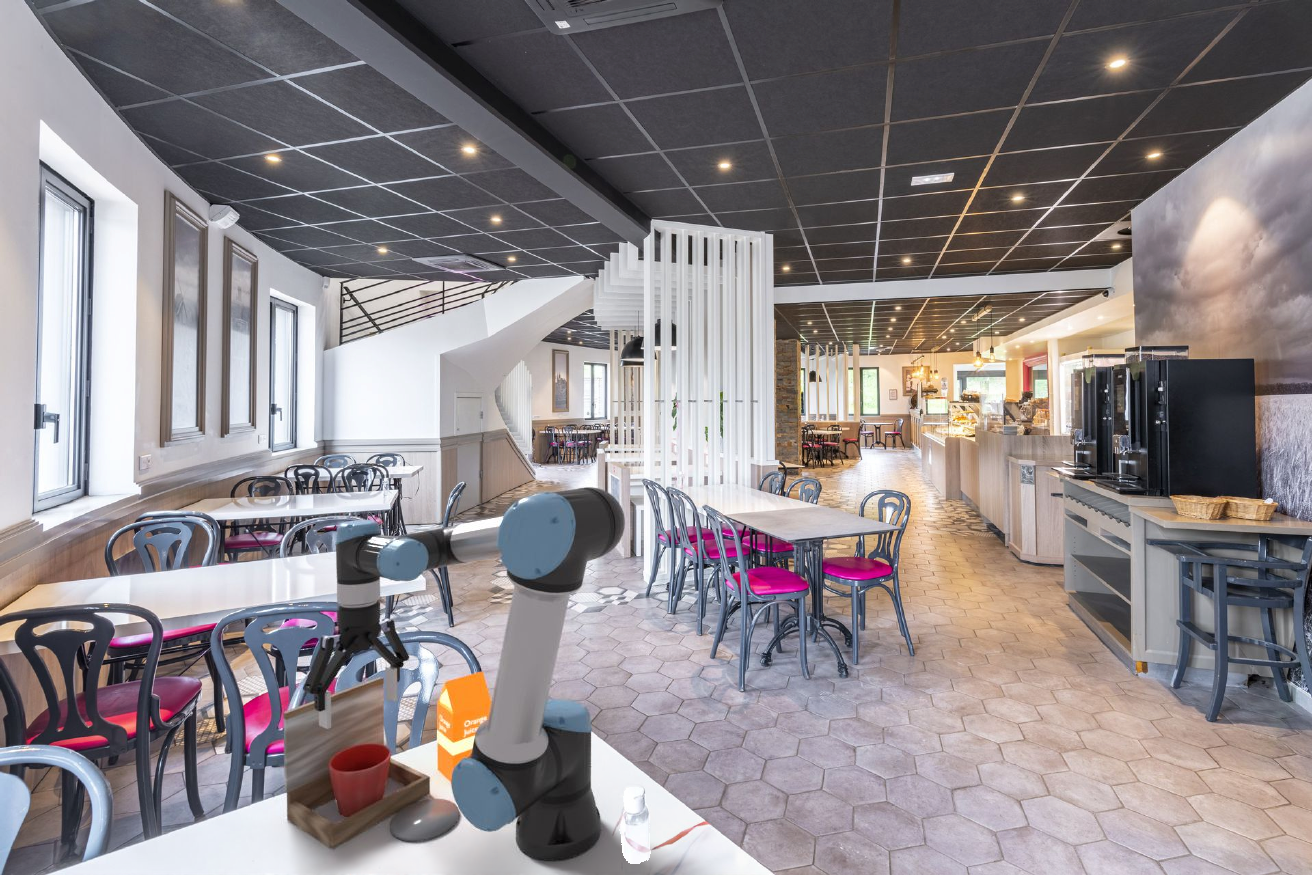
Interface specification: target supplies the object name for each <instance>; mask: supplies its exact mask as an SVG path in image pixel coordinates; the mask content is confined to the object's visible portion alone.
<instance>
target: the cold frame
mask: <svg viewBox="0 0 1312 875" xmlns="http://www.w3.org/2000/svg"><path fill="white" fill-rule="evenodd" d="M384 679H385V678H384V677H382V676H379V677H376V678H374V679H371V680H367V681H366V682H362V683H359V684H357V685H354V686H351V687H349V688H345V689H343V690H340V691H338V692H335V693H333V694H332V693H331V728H329V729H326V728H324V727H322V726H320V725H319V711H317V710H315V708H314V705H315V704H314V700H313V701H311V702H307V703H305V704H302V705H299V706H296V707H294V708H290V709H288V710H286V711H283V712H282V714H283V715H282V716H283V760H284V761H283V764H284V765H283V770H284V771H283V772H284V774H283V776H284V778H283V779H284V792H285V793H286V820H287V821H288V822H289V823H291V824H293V825H294V826H295V827H298V828H299V829H300V830H302V831H304V833H306V834H308V835H310V836H311V837H313V838H315V840H317V841H319V842H321V843H322V844H323V845H325V846H327V847H328V848H330V849H331V850H334V849H336V848H337V847H339V846H341V845H343V844H344V843H347V842H349V841H350V840H352V839H353V838H355V837H356V836H359V835H360V834H362V833H365V831H367V830H369V829H372V827H373V828H374V826H377V825H378V824H380V823H381V822H383V821H385V820H387V819H389V818H391V817H392V816H394V815H395V814H396V813H397V812H398V811H400V810H401V809H402V808H404V807H406V806H408V805H410V804H412V803H415V802H418V801H421V800H423V798H425V797H427V796H429V795H430V794H431V784H430V782H431V777H430V776H429V775H427V774H425V773H423V772H421V771H418V770H417V769H415V768H412V767H410V766H408V765H406V764H404V763H402V762H400V761H397V760H396V759H393V758H391V759H390V765H389V770H388V776H387V779H390V780H393V781H394V782H396V783H397V784H399V785H402V786H403V787H402V788H400V789H398V790H396V791H395V792H393V793H390V794H389V795H387V796H384V798H383V799H381V800H379V801H377V802H376V803H374V804H372V805H370V806H368V807H366V808H364V809H363V810H361V811H359V812H357V813H355V814H353V815H351V816H350V817H348V818H346V817H345V818H343V819H342V820H340V821H339V822H336V823H335V824H334V823H333V822H331V821H330V820H328V819H326V818H325V817H323V816H321V815H320V814H318V813H316V812H315V811H314V810H316V809H319V808H320V807H322V806H324V805H326V804H328V803H330V802H332V801H334V800H336V799H335V795H334V791H333V786H332V782H331V777H330V772H329V767H328V764H329V761H330V759H331V758H332V757H333V756H334V755H336V754H337V753H339V752H340V751H342V750H344V749H347V748H350V747H352V746H356V745H361V744H372V743H373V744H381V745H384V746H385V722H384V721H385V716H384V712H385V708H384V706H385V704H384V702H385V701H384V700H385V699H384V696H385V695H384V683H385V682H384V681H385V680H384Z"/></svg>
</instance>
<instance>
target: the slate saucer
mask: <svg viewBox="0 0 1312 875" xmlns="http://www.w3.org/2000/svg"><path fill="white" fill-rule="evenodd" d="M392 816H393V817H392V818H391V820H390V823H389V826H390V829H389V830H390V833H391V835H392V836H393V837H394V838H396V839H398V840H399V841H403V842H408V843H409V842H412V843H413V842H414V843H415V842H416V843H417V842H424V841H429V840H432V839H436V838H437V837H440V836H442V835H444V834H446V833H447V832H449V831H450V830H451V829H452V828H454V826H455V825H456V824H457V822H458V820H459V818H460V809H459V807H458V805H457V803H454V802H453V801H451V800H449V799H448V800H447V799H443V798H429V799H428V798H427V799H420V800H418V801H417V802H415V803H412V804H410V805H408V806H406V807H404V808H402V809H401V810H400V811H398V812H397V813H396V814H394V815H392Z"/></svg>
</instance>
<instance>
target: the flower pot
mask: <svg viewBox="0 0 1312 875" xmlns="http://www.w3.org/2000/svg"><path fill="white" fill-rule="evenodd" d="M391 756H392V752H391V749H390V747H388V746H386V745H385V744H384V745H381V744H373V743H372V744H361V745H356V746H352V747H350V748H347V749H344V750H342V751H340V752H339V753H337V754H336V755H334V756H333V757H332V758H331V759H330V761H329V764H328V767H329V772H330V777H331V782H332V786H333V791H334V795H335V799H334V800H335V802H336V806H337V809H338V811H337V812H338V813H339V815H340V816H342V817H343V818H345V819H346V818H348V817H350V816H351V815H353V814H355V813H357V812H359V811H361V810H363V809H364V808H366V807H368V806H370V805H372V804H374V803H376V802H377V801H379V800H381V799H383V798H385V791H386V788H387V781H388V777H387V776H388V770H389V765H390V759H392V758H391Z"/></svg>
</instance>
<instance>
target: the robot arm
mask: <svg viewBox="0 0 1312 875" xmlns="http://www.w3.org/2000/svg"><path fill="white" fill-rule="evenodd" d="M625 525H626V520H625V513H624V510H623V507H622V506H621V504H620V502H619V500H617V498H616V496H614V495H612V494H611V493H610V492H608V491H606V490H604V489H601V488H598V487H592V486H590V487H589V486H587V487H579V488H575V489H573V488H572V489H567V490H559V491H552V492H551V491H543V492H540V493H539V492H538V493H536V494H532V495H531V496H526V497H524V498H521V499H519V500H517V501H516V502H514V503H513V504H512V505H511V506H510V507H509V508H508V509H507V510H506V512H505V513H504V515H503V516H502V515H501V516H497V517H493V518H487V519H483V520H476V521H471V522H467V523H463V524H454V525H450V526H449V525H448V526H446V527H439V528H436V529H430V530H423V531H418V532H412V533H411V532H410V533H407V534H406V533H405V534H402V535H384V534H381V530H380V529H381V528H380V523H379V522H378V521H376V520H372V519H371V520H370V519H361V520H360V519H358V520H350V521H344V522H341V523H340V524H339V525H338V526H337V528H336V542H335V544H334V545H335V559H336V560H335V561H336V563H335V565H336V569H335V570H336V603H337V604H338V606H336V624H337V633H336V634H335V635H326V634H323V635H321V637H320V639H319V640H320V642H319V648H318V651H317V653H316V656H315V658H314V660H313V663H312V665H311V668H310V670H309V672H308V674H307V677H306V680H305V682H304V685H303V687H302V690H303V691H304V692H305V693H308V694H310V695H314V698H313V699H314V700H313V701H314V704H315V705H314V708H315V710H317V711H319V725H320V726H322V727H324V728H326V729H329V728H331V695H332V692H331V691H329V690H328V689H329V688H330V686H331V685H332V683H333V682H334V680H335V678H336V677H337V675H338V673H339V672H340V671H341V669H342V667H343V666H344V664H345V663H346V662H347V660H349V659H350V658H351V656H352V654H354V655H355V654H359V653H360V652H362V651H368V650H370V649H371V648H372V649H373V650H374V651H375V652H376V653H377V654H378V655H379V656H380V657H381V658H382V659H384V660H385V661H386V662H387V663H388V664H389V665H387V666H384V668H385V669H384V671H385V673H384V674H385V678H384V679H385V680H384V681H385V682H384V683H385V688H384V689H385V699H386V700H387V701H390V702H393V703H395V702H398V682H400V681H401V669H402V668H403V667H404V665H405V662H407V661H408V660H410V655H409V653H408V651H407V650H406V648H405V646H404V643H403V642H402V640H401V638H400V637H399V636H400V635H398V633H397V630H396V625H395V624H396V623H395V620H393V619H391V618H387V617H384V618H382V619H381V602H380V601H379V600H380V598H381V578H383V579H387V580H390V581H394V582H411V581H414V580H416V579H418V578H419V577H420V576H421V575H422V574H423V573H424V572H427V571H430V570H434V569H439V568H443V567H448V566H455V565H460V564H465V563H472V562H479V561H484V560H491V559H492V560H493V559H498V558H499V559H500V560H501V563H502V564H503V566H504V567H505V568H506V577H507V579H508V580H509V581H510V582H511V583H512V585H513V590H512V594H511V595H512V596H511V602H510V606H509V611H508V617H507V622H506V626H505V630H504V637H503V642H502V648H501V652H500V657H499V662H498V668H497V672H496V673H497V674H496V677H495V683H494V687H493V691H492V692H493V693H492V698H491V707H490V712H489V717H488V719H487V720H485V721H484V722H482V723H481V724H480V725H479V727H478V728H477V730H476V733H475V738H474V743H473V748H472V752H471V754H470V756H469V757H465V758H463V759H461V760H460V762H459V763H458V764H457V765H456V766H455V767H454V769H453V772H452V777H451V782H450V784H451V786H450V787H451V791H452V795H453V798H454V801H455V804H456V806H457V807H458V809H459V812H460V813H461V814H462V815H463V818H465V819H466V820H467V821H468V822H469V823H470V824H471V826H474V827H475V828H476V829H479V830H480V831H483V832H488V833H490V832H496V831H499V830H500V829H502V828H504V827H505V826H506V825H511V823H513V822H514V821H515V820H516V823H515V841H516V844H517V846H518V849H520V850H521V851H522V852H523V853H524V854H526V855H527V856H530V857H531V858H535V859H538V860H544V861H562V860H568V859H572V858H574V857H576V856H579V855H582V854H583V853H585V852H587V851H588V850H590V849H592V848H593V846H594V845H595V844H596V843H597V842H598V840H599V838H600V836H601V831H602V825H601V824H602V822H601V821H602V820H601V813H600V810H599V809H598V807H597V805H596V804H597V803H596V799H595V796H594V793H593V790H592V731H593V728H592V722H591V721H592V720H591V719H592V718H591V713H590V710H589V709H588V708H587V707H586V706H585V705H583V704H581V703H579V702H578V701H577V702H576V701H573V700H569V699H568V700H567V699H557V698H556V699H555V698H554V699H549V694H550V690H551V685H552V682H553V676H554V671H555V668H556V663H557V657H558V652H559V648H560V642H561V638H562V634H563V628H564V625H565V624H564V623H565V618H566V615H567V609H568V606H569V602H570V601H569V600H570V596H571V595H573V594H574V593H577V592H578V591H579V590H580V589H581V588H582V587H583V582H584V578H585V577H584V576H585V572H586V569H587V568H586V567H587V564H588V562H590V561H593V560H596V559H598V558H601V557H604V556H605V555H608V554H609V553H610V552H612V550H614V549H615V548H616V547H617V546H618V544H619V543H620V541H621V540H622V538H623V535H624V532H625V527H626V526H625ZM380 619H381V621H380ZM381 631H382V632H383V635H384V636H385V638H386V639H387V642H388V644H389V646H390V647H391V649H392V650H390V649H389V648H388V647H387V646H386V645H385V644H384V642H383V641H382V640H380V639H379V638H378V636H379V635H380V633H381ZM337 643H338V645H337ZM336 646H337V647H336ZM334 648H335V650H334ZM392 651H393V652H394V653H393V652H392Z"/></svg>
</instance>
